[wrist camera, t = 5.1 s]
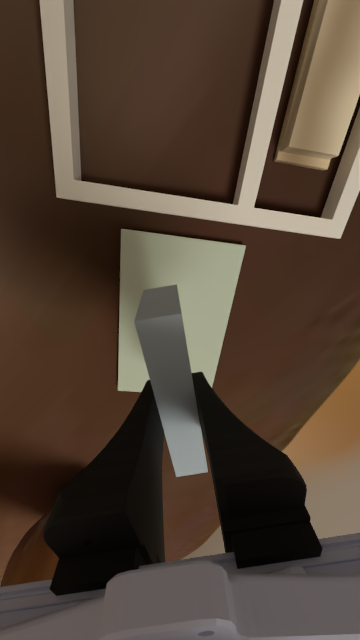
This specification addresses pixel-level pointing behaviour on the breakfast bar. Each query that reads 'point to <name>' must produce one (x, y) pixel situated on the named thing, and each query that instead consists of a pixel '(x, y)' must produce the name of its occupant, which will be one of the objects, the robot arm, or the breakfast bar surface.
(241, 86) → the breakfast bar surface
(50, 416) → the breakfast bar surface
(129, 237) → the mat
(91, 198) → the rack
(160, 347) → the grey rectangular block
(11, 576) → the butternut squash
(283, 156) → the offcut lower
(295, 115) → the offcut upper
